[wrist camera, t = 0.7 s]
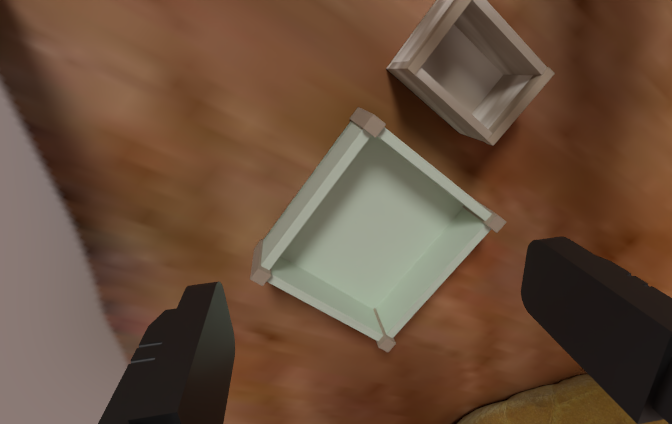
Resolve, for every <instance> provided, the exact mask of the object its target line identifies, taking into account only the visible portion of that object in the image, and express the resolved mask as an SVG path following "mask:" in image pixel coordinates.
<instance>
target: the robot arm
mask: <svg viewBox="0 0 672 424" xmlns="http://www.w3.org/2000/svg"><path fill="white" fill-rule="evenodd" d="M521 296H522V301H523V304H524V306H525V308H526V310H527V311H528V313H529V314H530V315H531V316H532V317H533V318H534V319H535V320H536V321H537V322H538V323H539V324H540V325H541V326H542V327H543V328H544V329H545V330H546V331H547V332H548V333H549V334H550V335H551V336H552V337H553V338H554V339H555V340H556V342H557V343H558V344H559V345H560V346H561V347H562V348H563V349H564V350H565V351H566V352H567V353H568V354H569V355H570V356H571V357H572V358H573V359H574V360H575V361H576V362H577V363H578V364H579V365H580V366H581V367H582V368H583V369H584V370H585V371H586V372H587V373H588V374H589V375H590V376H591V377H592V378H593V379H594V380H595V381H596V383H597V384H598V385H599V386H600V387H601V388H602V389H603V390H604V391H605V392H606V393H607V394H608V395H609V396H610V397H611V398H612V399H613V400H614V401H615V402H616V403H617V404H618V405H619V406H620V407H621V408H622V409H623V410H624V411H625V412H626V413H627V414H628V415H629V416H630V417H631V418H632V419H633V420H634V421H635V422H636V423H637V424H642V423H648V422H653V421H658V420H663V419H664V420H665V421H667V422H668V423H669V424H672V298H671V297H669V296H667V295H666V294H664V293H662V292H661V291H659V290H657V289H656V288H654V287H652V286H651V287H649V286H648V283H646V282H644V281H643V280H641V279H639V278H638V277H636V276H631V273H629V272H628V271H626V270H625V269H623V268H621V267H620V266H618V265H616V264H615V263H613V262H611V261H609V260H606V259H604V258H601V257H598V256H596V255H594V254H592V253H591V252H589V251H587V250H586V249H584V248H583V247H581V246H579V245H578V244H576V243H575V242H573V241H571V240H570V239H568V238H566V237H555V238H547V239H540V240H534V241H532V242H531V243H530V244H529V246H528V249H527V255H526V262H525V268H524V274H523V281H522V287H521ZM234 357H235V339H234V332H233V327H232V323H231V319H230V315H229V310H228V306H227V302H226V298H225V294H224V289H223V286H222V284H221V283H220V282H213V283H206V284H198V285H191V286H187V287H186V289H185V291H184V293H183V296H182V298H181V300H180V302H179V305H178V307H177V309H170V310H165V311H164V312H163V313H162V314H161V315H160V316H159V317H158V318H157V319H156V320H155V321H154V322H152V323H151V324H150V325H149V326H148V328H147V330H146V332H145V334H144V336H143V338H142V340H141V342H140V344H139V348H137V349H136V351H135V353H134V355H133V357H132V359H131V364H129V365H128V367H127V369H126V371H125V373H124V375H123V376H122V379H121V380H120V382H119V384H118V386H117V388H116V390H115V392H114V394H113V396H112V398H111V400H110V402H109V404H108V406H107V407H106V409H105V411H104V413H103V415H102V417H101V419H100V421H99V423H98V424H223V422H224V416H225V410H226V404H227V398H228V392H229V386H230V381H231V375H232V369H233V363H234Z"/></svg>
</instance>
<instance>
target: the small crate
mask: <svg viewBox="0 0 672 424" xmlns="http://www.w3.org/2000/svg"><path fill="white" fill-rule="evenodd" d="M386 69H387V70H388V71H389V72H390V73H391V74H393V75H394V76H395V77H396V78H397V79H398V80H399V81H401V82H402V83H403V84H404V85H405V86H406V87H407V88H409V89H410V90H411V91H412V92H413V93H414V94H415V95H416V96H418V97H419V98H420V99H421V100H422V101H423V102H424V103H426V104H427V105H428V106H429V107H430V108H431V109H432V110H434V111H435V112H436V113H437V114H438V115H439V116H440V117H442V118H443V119H444V120H445V121H446V122H447V123H448V124H449V125H451V126H452V127H453V128H454V129H455V130H456V131H457V132H459V133H460V134H463V135H466V136H469V137H472V138H475V139H477V140H480V141H483V142H485V143H486V144H489V145H492V146H494V144H495V143H496V142H497V141H498V140H499V139H500V137H501V136H502V135H503V134H504V133H505V132H506V130H507V129H508V128H509V127H510V126H511V124H512V123H513V122H514V121H515V120H516V119H517V117H518V116H519V115H520V114H521V113H522V112H523V110H524V109H525V108H526V107H527V106H528V104H529V103H530V102H531V101H532V100H533V99H534V97H535V96H536V95H537V94H538V93H539V92H540V90H541V89H542V88H543V87H544V86H545V84H546V83H547V82H548V81H549V80H550V79H551V77H552V76H553V75H554V74H555V73H554V72H553V71H552V70H551V69H550V68H549V67H546V65H545V64H544V63H543V62H542V61H541V60H540V59H539V58H538V57H537V55H536V54H535V53H534V52H533V51H532V50H531V49H530V48H529V47H528V46H527V44H526V43H525V42H524V41H523V40H522V39H521V38H520V37H519V36H518V35H517V33H516V32H515V31H514V30H513V29H512V28H511V27H510V26H509V25H508V24H507V22H506V21H505V20H504V19H503V18H502V17H501V16H500V15H499V14H498V13H497V11H496V10H495V9H494V8H493V7H492V6H491V5H490V4H489V3H488V2H487V0H436V1H435V3H434V4H433V6H432V7H431V8H430V10H429V11H428V12H427V14H426V15H425V16H424V18H423V19H422V21H421V22H420V23H419V25H418V26H417V27H416V29H415V30H414V31H413V33H412V34H411V36H410V37H409V38H408V40H407V41H406V42H405V44H404V45H403V47H402V48H401V49H400V51H399V52H398V53H397V55H396V56H395V57H394V59H393V60H392V62H391V63H390V64H389V66H388V67H387V68H386Z"/></svg>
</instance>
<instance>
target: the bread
mask: <svg viewBox="0 0 672 424" xmlns="http://www.w3.org/2000/svg"><path fill="white" fill-rule="evenodd" d="M457 424H637V423H636V422H635V421H634V420H633V419H632V418H631V417H630V416H629V415H628V414H627V413H626V412H625V411H624V410H623V409H622V408H621V407H620V406H619V405H618V404H617V403H616V402H615V401H614V400H613V399H612V398H611V397H610V396H609V395H608V394H607V393H606V392H605V391H604V390H603V389H602V388H601V387H600V386H599V385H598V384H597V383H596V381H595V380H594V379H593V378H592V377H591V376H590V375H589V374H584V375H578V376H575V377H572V378H570V379H565V380H563V381H561V382H559V383H558V384H552V385H545V386H541V387H538V388H535V389H531V390H527V391H524V392H520V393H518V394H516V395H513V396H511V397H510V398H509V399H508V400H506V401H502V402H498V403H494V404H490V405H487V406H485V407H482V408H479V409H477V410H475V411H473V412H471V413H470V414H468V415H466V416H464V417H463V418H462V419H461V420H460V421H459V422H458V423H457ZM642 424H669V423H668V422H667V421H665V420H664V419H663V420H658V421H653V422H648V423H642Z"/></svg>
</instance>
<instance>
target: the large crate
mask: <svg viewBox="0 0 672 424" xmlns="http://www.w3.org/2000/svg"><path fill="white" fill-rule="evenodd" d="M350 120H351V121H350V123H349V124H348V125H347V127H346V128H345V130H344V131H343V132H342V134H341V135H340V136H339V138H338V139H337V140H336V142H335V143H334V145H333V146H332V147H331V149H330V150H329V151H328V153H327V154H326V155H325V157H324V158H323V159H322V161H321V162H320V164H319V165H318V166H317V168H316V169H315V170H314V172H313V173H312V174H311V176H310V177H309V179H308V180H307V181H306V183H305V184H304V185H303V187H302V188H301V189H300V191H299V192H298V194H297V195H296V196H295V198H294V199H293V200H292V202H291V203H290V204H289V206H288V207H287V208H286V210H285V211H284V213H283V214H282V215H281V217H280V218H279V219H278V221H277V222H276V223H275V225H274V226H273V228H272V229H271V230H270V232H269V233H268V234H267V236H266V237H265V238H264V240H262V239H261V240H260V242H259V243H258V244H257V246H256V247H255V249H254V255H253V262H252V269H251V276H250V280H252V281H254V282H256V283H258V284H260V285H262V286H263V285H264V284H265V283H266V281H267V282H268V283H270V284H272V285H274V286H276V287H278V288H280V289H281V290H283V291H285V292H287V293H289V294H291V295H293V296H295V297H296V298H298V299H300V300H302V301H304V302H306V303H308V304H309V305H311V306H313V307H315V308H317V309H319V310H321V311H322V312H324V313H326V314H328V315H330V316H332V317H334V318H336V319H337V320H339V321H341V322H343V323H345V324H347V325H349V326H350V327H352V328H354V329H356V330H358V331H360V332H362V333H363V334H365V335H367V336H369V337H371V338H373V339H375V340H376V342H377V345H378V347H379V348H381V349H383V350H384V351H386V352H389V351H390V350H391V349H392V348H393V346H394V345H395V344H396V342H395V340H394V336H395V335H396V334H397V333H398V332H399V331H400V330H401V328H402V327H403V326H404V325H405V324H406V323H407V322H408V321H409V320H410V319H411V317H412V316H413V315H414V314H415V313H416V312H417V311H418V310H419V309H420V307H421V306H422V305H423V304H424V303H425V302H426V301H427V300H428V299H429V297H430V296H431V295H432V294H433V293H434V292H435V291H436V290H437V289H438V288H439V286H440V285H441V284H442V283H443V282H444V281H445V280H446V279H447V278H448V276H449V275H450V274H451V273H452V272H453V271H454V270H455V269H456V268H457V266H458V265H459V264H460V263H461V262H462V261H463V260H464V259H465V258H466V256H467V255H468V254H469V253H470V252H471V251H472V250H473V249H474V248H475V247H476V245H477V244H478V243H479V242H480V241H481V240H482V239H483V238H484V237H485V235H486V234H487V233H488V232H489V231H490V230H491V229H492V230H494V231H495V232H496V233H497V232H498V231H499V230H500V229H501V228H502V227H503V225H504V224H505V223H506V221H505V220H503V219H502V218H501V217H500V216H499V215H497V214H496V213H494V212H493V211H491V210H490V209H488V208H487V207H485V206H484V205H482V204H480V203H479V202H477V201H476V200H474V199H473V198H472V197H470V196H469V195H468V194H467V193H465V192H464V191H463V190H462V189H460V188H459V187H458V186H457V185H455V184H454V183H453V182H452V181H450V180H449V179H448V178H447V177H445V176H444V175H443V174H442V173H441V172H439V171H438V170H437V169H436V168H434V167H433V166H432V165H431V164H429V163H428V162H427V161H426V160H424V159H423V158H422V157H421V156H419V155H418V154H417V153H416V152H414V151H413V150H412V149H411V148H409V147H408V146H407V145H406V144H405V143H403V142H402V141H401V140H400V139H398V138H397V137H396V136H395V135H393V134H392V133H391V132H390V131H388V130H387V129H386V128H385V127H384V126H385V125H386V124H385V123H384V122H383V121H381V120H380V119H379V118H378V117H376V116H375V115H374V114H372V113H370V112H368V111H365V110H363V109H361V108H359V107H358V108H357V109H356V111H355V112H354V113H353V115H352V116H351V117H350Z"/></svg>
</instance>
